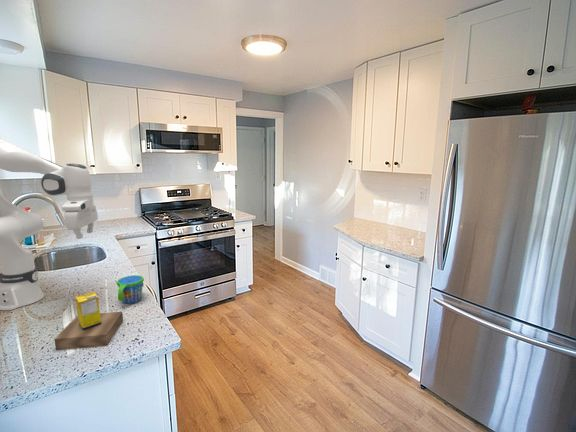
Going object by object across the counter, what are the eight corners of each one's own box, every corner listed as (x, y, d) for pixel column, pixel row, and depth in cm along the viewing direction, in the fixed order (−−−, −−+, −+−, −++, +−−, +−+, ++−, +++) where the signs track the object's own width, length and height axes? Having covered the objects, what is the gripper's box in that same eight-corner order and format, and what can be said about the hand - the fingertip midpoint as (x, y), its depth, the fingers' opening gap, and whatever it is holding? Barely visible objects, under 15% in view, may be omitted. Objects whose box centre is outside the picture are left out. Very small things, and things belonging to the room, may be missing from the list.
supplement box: (97, 318, 116) (93, 291, 114) (101, 324, 112) (98, 296, 110) (78, 324, 112) (74, 296, 110) (82, 330, 108) (78, 301, 106)
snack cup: (134, 291, 147) (132, 272, 145) (153, 294, 145) (151, 273, 143) (109, 307, 132) (106, 285, 130) (130, 310, 130) (127, 287, 128)
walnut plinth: (56, 349, 104) (54, 339, 103) (79, 324, 119) (77, 315, 118) (107, 345, 106) (105, 334, 105) (123, 320, 122) (122, 311, 121)
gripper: (84, 199, 137) (88, 229, 139) (59, 207, 117) (64, 242, 120) (99, 199, 138) (103, 229, 140) (77, 207, 118) (82, 241, 121)
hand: (85, 235), depth 130 cm, fingers open, 8 cm apart
